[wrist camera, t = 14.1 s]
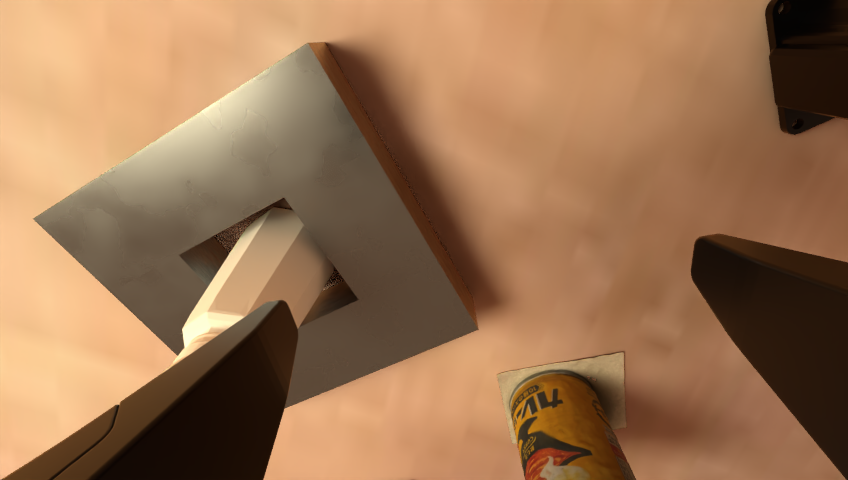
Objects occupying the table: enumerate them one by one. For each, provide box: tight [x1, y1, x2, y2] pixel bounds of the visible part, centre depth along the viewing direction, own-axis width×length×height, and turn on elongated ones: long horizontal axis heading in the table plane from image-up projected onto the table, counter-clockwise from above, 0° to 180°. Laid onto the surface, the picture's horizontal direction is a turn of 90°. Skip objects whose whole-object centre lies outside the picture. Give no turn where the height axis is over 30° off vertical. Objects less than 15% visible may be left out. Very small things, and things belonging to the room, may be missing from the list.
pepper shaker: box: [162, 207, 334, 373], centre depth 18 cm, size 5×5×11 cm
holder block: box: [34, 42, 478, 408], centre depth 22 cm, size 16×16×3 cm
